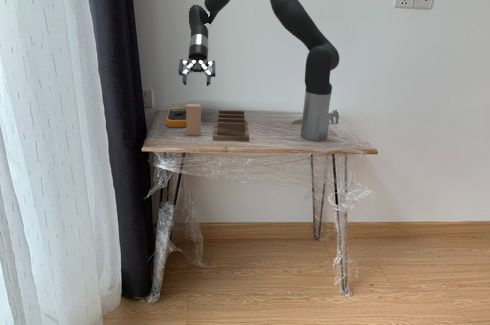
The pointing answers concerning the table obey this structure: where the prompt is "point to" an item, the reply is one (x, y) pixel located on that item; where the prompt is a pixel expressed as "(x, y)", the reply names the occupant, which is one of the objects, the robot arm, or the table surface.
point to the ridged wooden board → (231, 126)
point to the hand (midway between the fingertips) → (196, 84)
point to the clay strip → (193, 119)
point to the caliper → (334, 114)
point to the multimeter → (177, 118)
